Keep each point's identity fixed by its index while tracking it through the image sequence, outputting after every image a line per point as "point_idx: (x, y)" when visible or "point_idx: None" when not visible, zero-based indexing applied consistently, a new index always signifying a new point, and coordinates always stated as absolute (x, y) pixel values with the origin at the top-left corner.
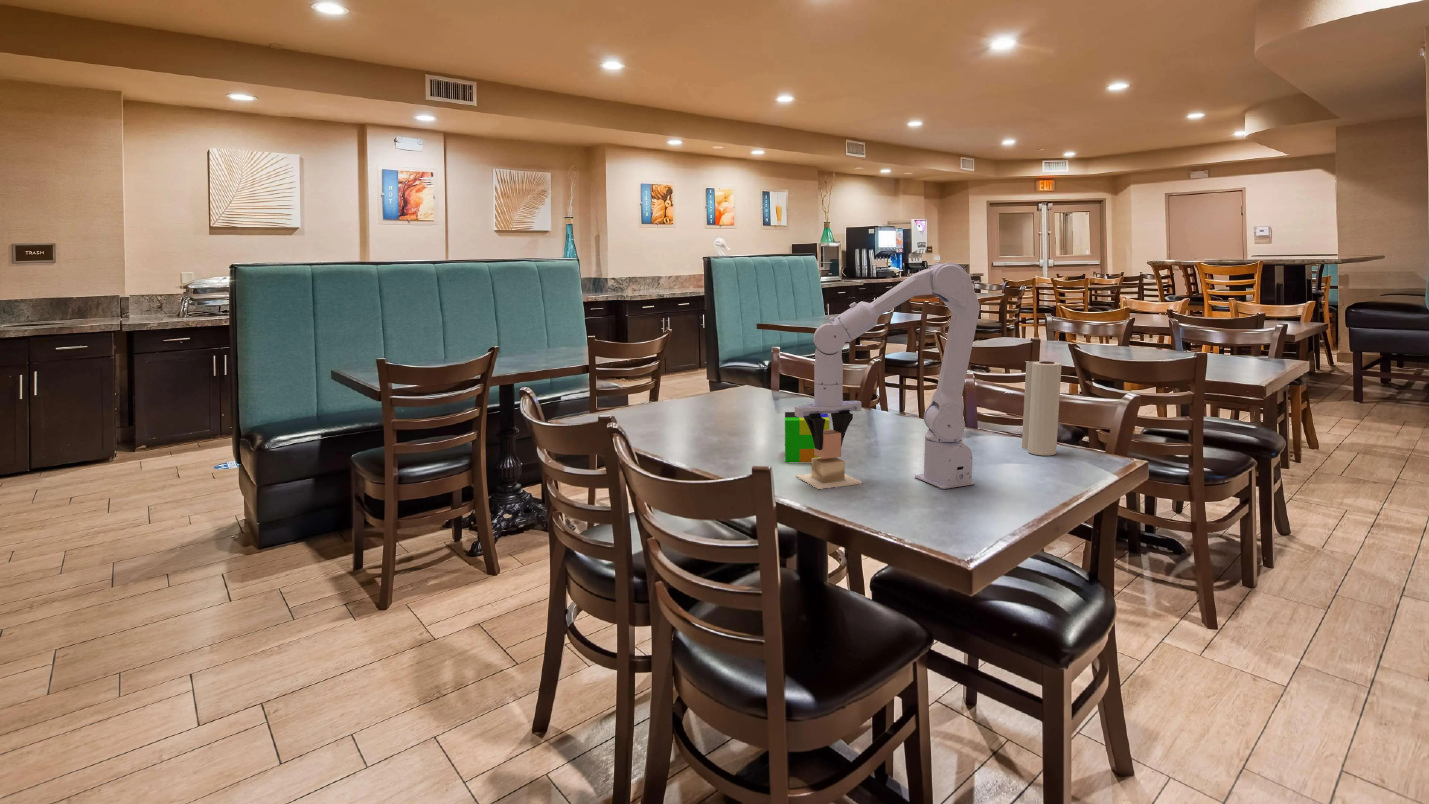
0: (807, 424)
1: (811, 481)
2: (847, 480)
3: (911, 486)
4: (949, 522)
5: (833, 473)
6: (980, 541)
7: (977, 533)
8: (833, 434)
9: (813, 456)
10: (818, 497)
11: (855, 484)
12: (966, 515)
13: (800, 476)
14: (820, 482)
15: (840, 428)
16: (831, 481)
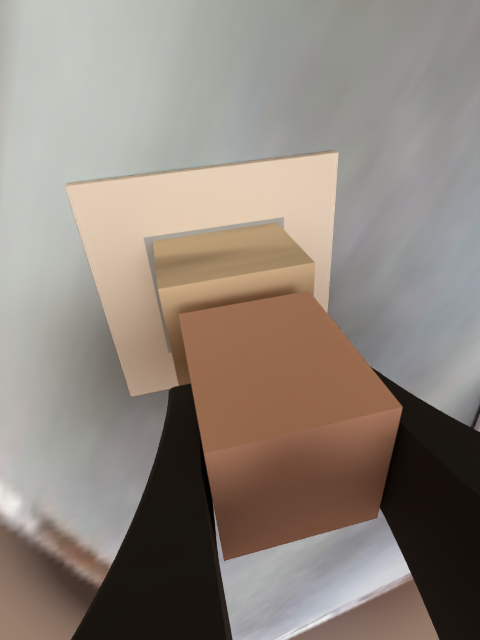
0: (99, 593)
1: (127, 314)
2: None
3: (433, 397)
4: (319, 573)
5: None
6: (303, 618)
7: (323, 600)
8: (309, 530)
9: None
10: (105, 456)
11: None
12: (372, 548)
13: (91, 217)
14: (164, 336)
15: (403, 539)
16: None
